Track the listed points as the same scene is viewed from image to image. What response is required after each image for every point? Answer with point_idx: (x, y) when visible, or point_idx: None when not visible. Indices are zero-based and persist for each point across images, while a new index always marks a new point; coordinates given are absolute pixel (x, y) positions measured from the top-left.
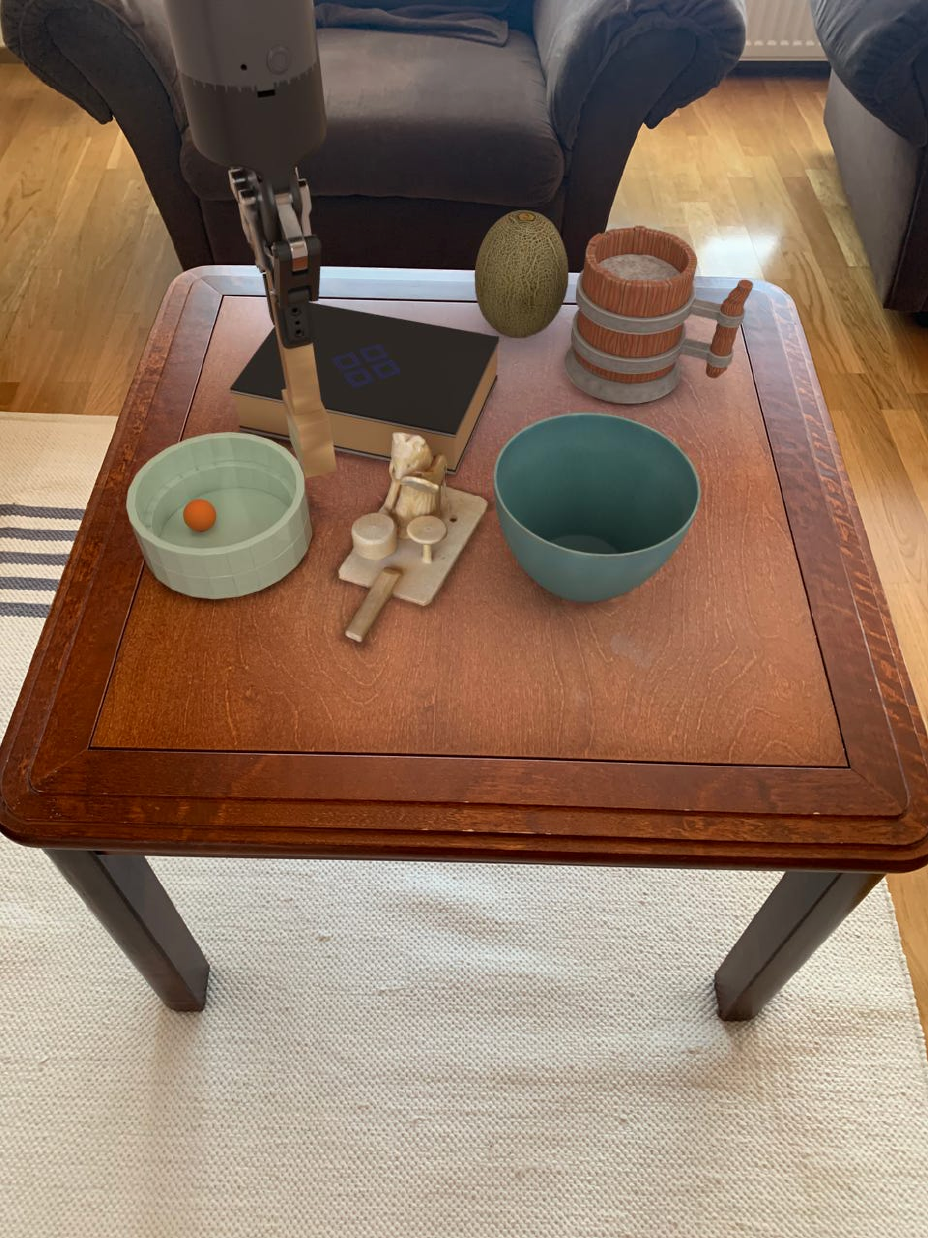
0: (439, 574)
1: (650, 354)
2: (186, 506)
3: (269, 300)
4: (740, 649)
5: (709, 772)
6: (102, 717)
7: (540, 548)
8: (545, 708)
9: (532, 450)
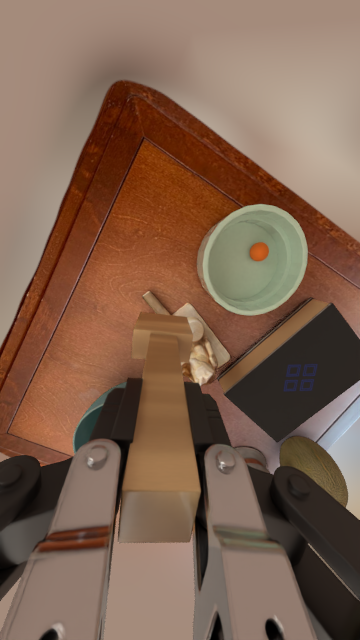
0: None
1: None
2: (265, 246)
3: (189, 409)
4: (72, 429)
5: (21, 390)
6: (160, 151)
7: (102, 400)
8: (75, 351)
9: None
